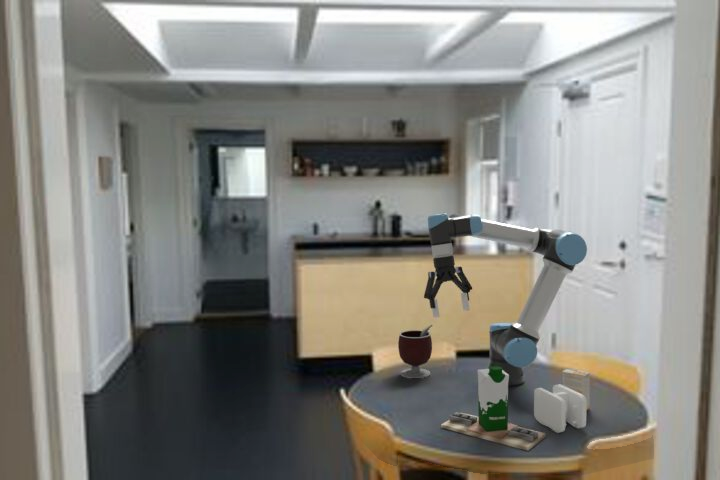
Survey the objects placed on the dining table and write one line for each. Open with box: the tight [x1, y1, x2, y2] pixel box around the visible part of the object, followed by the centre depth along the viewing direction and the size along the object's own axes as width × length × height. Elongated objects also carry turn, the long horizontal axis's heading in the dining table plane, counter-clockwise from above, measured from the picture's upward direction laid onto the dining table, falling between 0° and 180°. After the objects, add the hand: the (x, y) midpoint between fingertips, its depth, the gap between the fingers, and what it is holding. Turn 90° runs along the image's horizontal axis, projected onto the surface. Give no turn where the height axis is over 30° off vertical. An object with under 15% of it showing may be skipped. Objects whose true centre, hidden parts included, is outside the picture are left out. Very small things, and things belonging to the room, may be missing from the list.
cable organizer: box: [533, 383, 587, 434], centre depth 206 cm, size 15×11×12 cm
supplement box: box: [561, 368, 591, 412], centre depth 220 cm, size 8×5×13 cm, turn 45°
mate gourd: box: [397, 324, 433, 379], centre depth 262 cm, size 16×14×20 cm
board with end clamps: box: [440, 411, 546, 452], centre depth 202 cm, size 30×13×3 cm, turn 51°
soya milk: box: [477, 366, 509, 432], centre depth 201 cm, size 9×9×20 cm
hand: (451, 313), depth 230 cm, fingers open, 13 cm apart
